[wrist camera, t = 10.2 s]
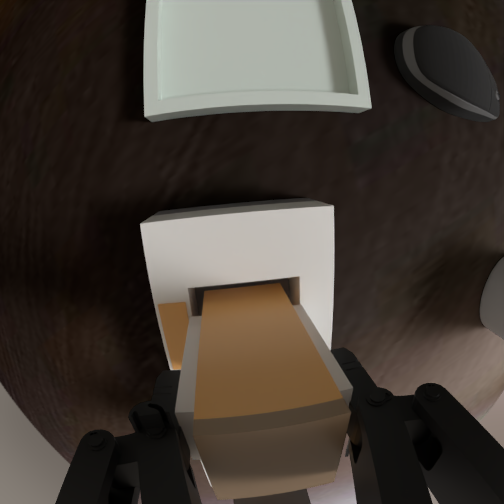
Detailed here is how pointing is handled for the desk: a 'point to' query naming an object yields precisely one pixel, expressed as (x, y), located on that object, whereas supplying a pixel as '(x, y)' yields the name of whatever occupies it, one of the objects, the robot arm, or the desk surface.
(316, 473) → the brown rectangular block
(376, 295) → the desk surface
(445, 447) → the robot arm
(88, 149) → the desk surface
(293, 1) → the tray
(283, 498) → the grey square prism
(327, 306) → the pdu strip
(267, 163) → the desk surface
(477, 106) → the computer mouse
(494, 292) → the mug
